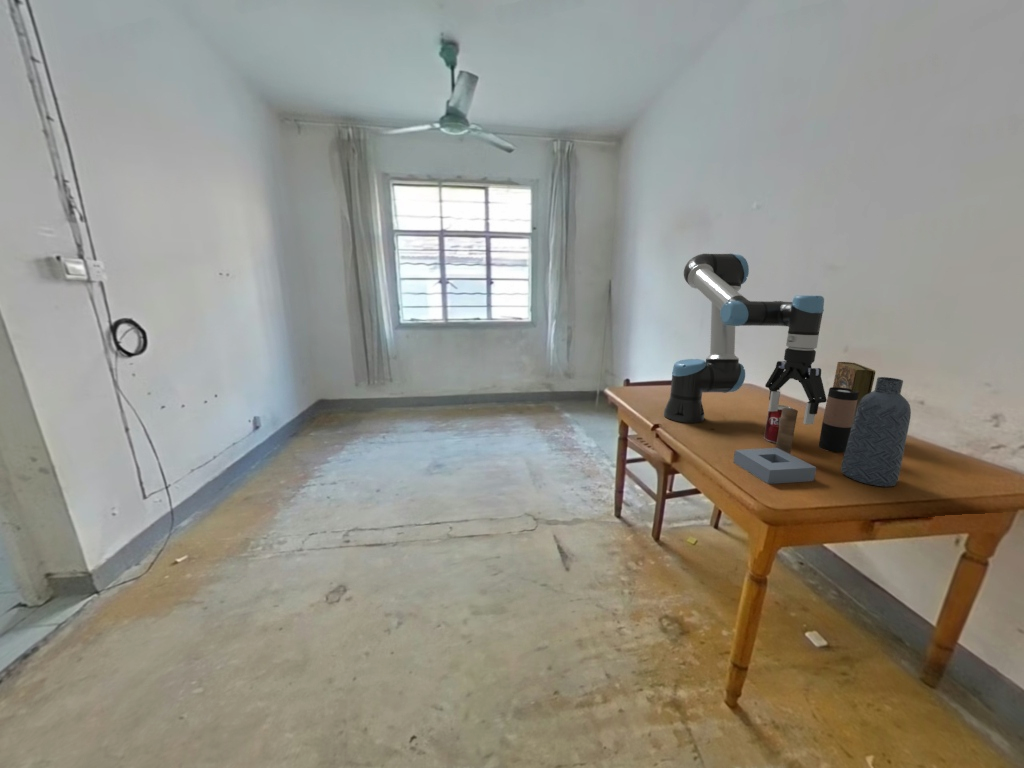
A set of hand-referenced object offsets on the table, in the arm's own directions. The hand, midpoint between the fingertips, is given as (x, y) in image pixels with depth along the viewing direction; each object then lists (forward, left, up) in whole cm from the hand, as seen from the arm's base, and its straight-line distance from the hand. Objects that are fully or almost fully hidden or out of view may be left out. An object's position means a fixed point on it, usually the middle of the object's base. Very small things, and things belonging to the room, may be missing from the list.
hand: (789, 417), depth 126 cm
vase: (+17, +12, -13) cm, 24 cm away
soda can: (-12, +8, -13) cm, 20 cm away
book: (-16, +38, -13) cm, 43 cm away
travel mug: (-3, +21, -13) cm, 25 cm away
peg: (0, 0, -13) cm, 13 cm away
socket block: (+10, -12, -13) cm, 20 cm away
